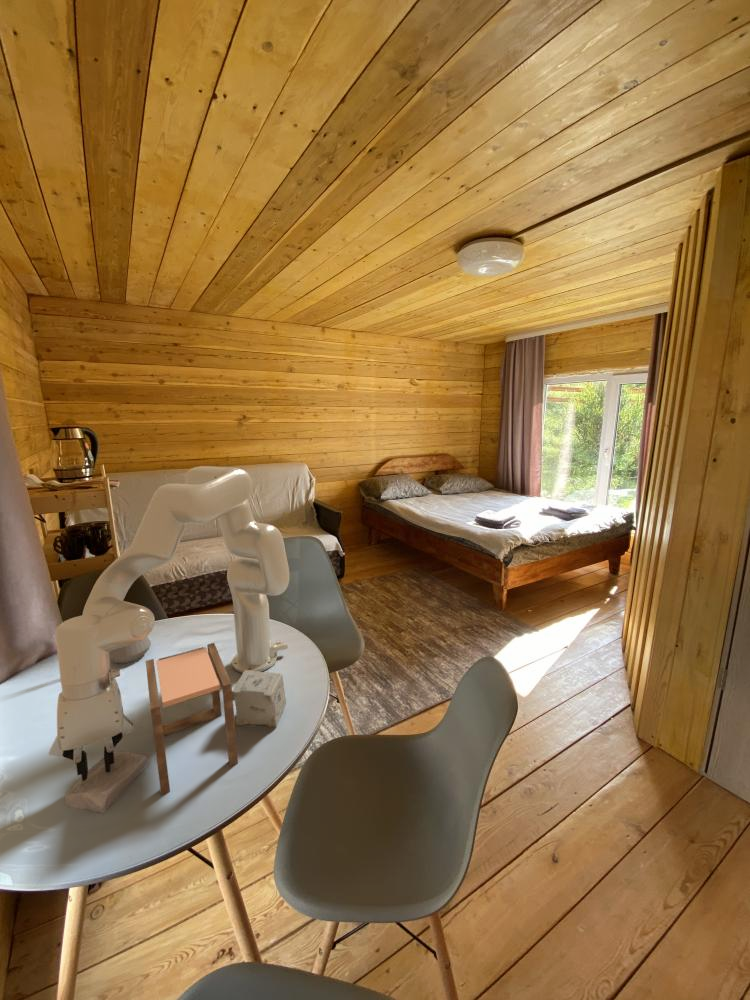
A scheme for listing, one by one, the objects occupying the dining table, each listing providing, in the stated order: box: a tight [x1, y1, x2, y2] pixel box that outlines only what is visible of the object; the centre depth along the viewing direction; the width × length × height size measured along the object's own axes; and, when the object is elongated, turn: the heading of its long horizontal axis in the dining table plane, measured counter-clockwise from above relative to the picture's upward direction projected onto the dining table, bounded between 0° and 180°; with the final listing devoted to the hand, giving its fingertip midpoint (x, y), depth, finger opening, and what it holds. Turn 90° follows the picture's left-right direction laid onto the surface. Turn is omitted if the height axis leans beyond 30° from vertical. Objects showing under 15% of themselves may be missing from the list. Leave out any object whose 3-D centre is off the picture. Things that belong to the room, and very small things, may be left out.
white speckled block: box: [232, 670, 287, 728], centre depth 96 cm, size 10×8×10 cm
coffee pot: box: [109, 636, 152, 664], centre depth 119 cm, size 21×12×15 cm, turn 130°
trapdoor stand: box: [145, 642, 239, 796], centre depth 86 cm, size 14×18×18 cm
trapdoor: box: [156, 646, 221, 708], centre depth 86 cm, size 10×18×3 cm, turn 31°
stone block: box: [64, 750, 148, 813], centre depth 80 cm, size 12×5×10 cm
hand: (96, 770), depth 79 cm, fingers open, 3 cm apart
